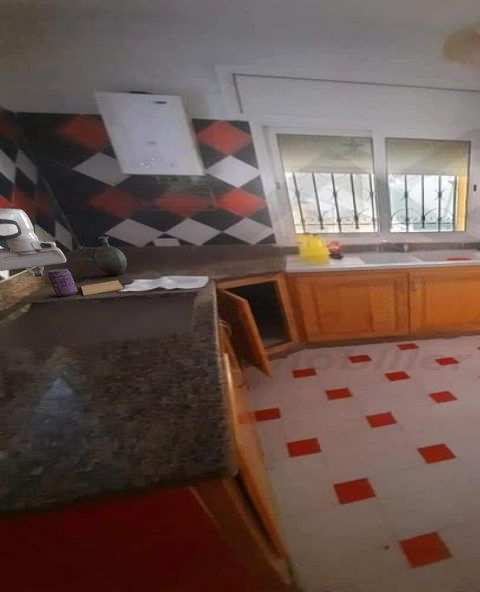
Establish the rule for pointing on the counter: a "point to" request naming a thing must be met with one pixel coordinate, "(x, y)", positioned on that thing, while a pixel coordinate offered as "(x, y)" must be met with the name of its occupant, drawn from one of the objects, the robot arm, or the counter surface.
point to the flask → (110, 258)
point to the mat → (101, 287)
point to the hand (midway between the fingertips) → (39, 276)
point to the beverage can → (62, 282)
